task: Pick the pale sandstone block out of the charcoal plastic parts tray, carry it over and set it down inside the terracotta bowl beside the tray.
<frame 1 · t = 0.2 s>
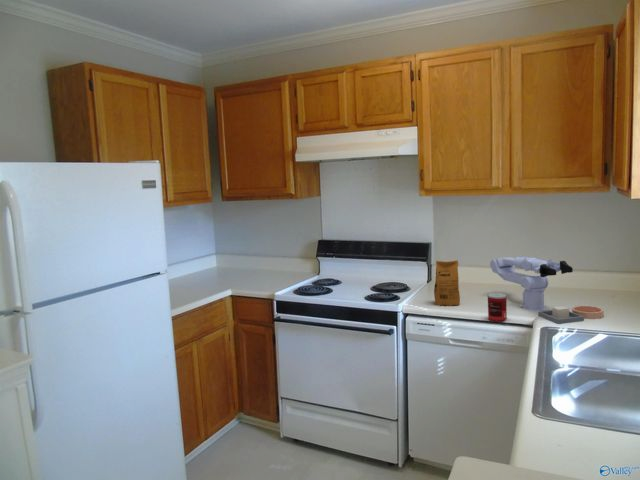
hand: (563, 271, 202), 21 cm above the countertop, tool horizontal, fingers open, 7 cm apart
bowl: (587, 316, 208), on the countertop
coffee package: (447, 304, 242), on the countertop
parts tray: (560, 319, 206), on the countertop
stone block: (560, 318, 205), point 1 cm above the countertop, touching parts tray
canned food: (497, 319, 211), on the countertop
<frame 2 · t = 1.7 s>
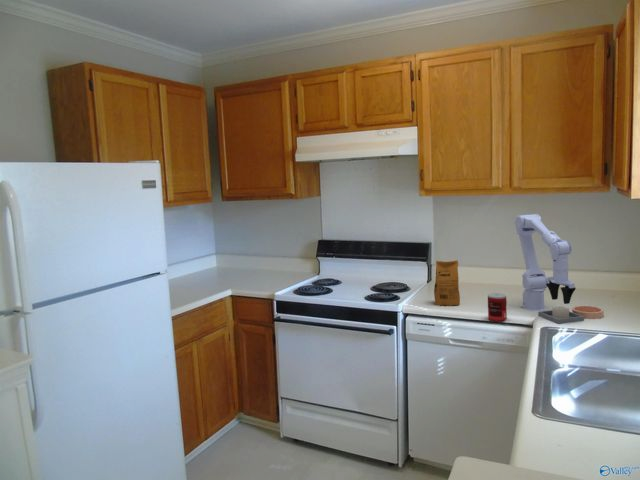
hand: (560, 301, 205), 8 cm above the countertop, tool pointing down, fingers open, 7 cm apart
nothing on the countertop moved.
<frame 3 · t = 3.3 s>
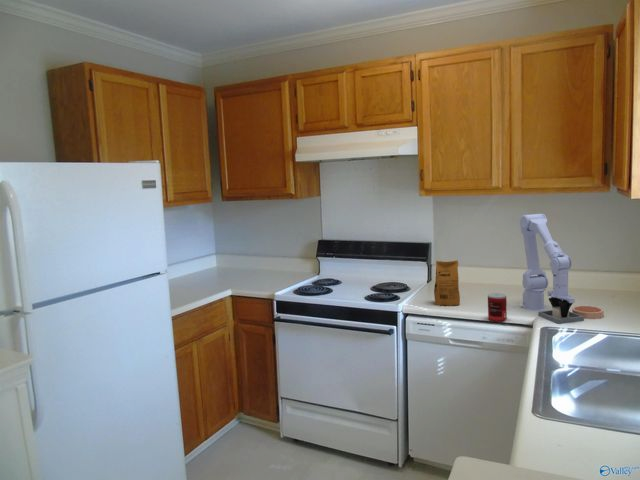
hand: (560, 315, 205), 2 cm above the countertop, tool pointing down, fingers closed on stone block, 4 cm apart
stone block: (560, 318, 205), point 1 cm above the countertop, touching gripper, parts tray
everything else where it was.
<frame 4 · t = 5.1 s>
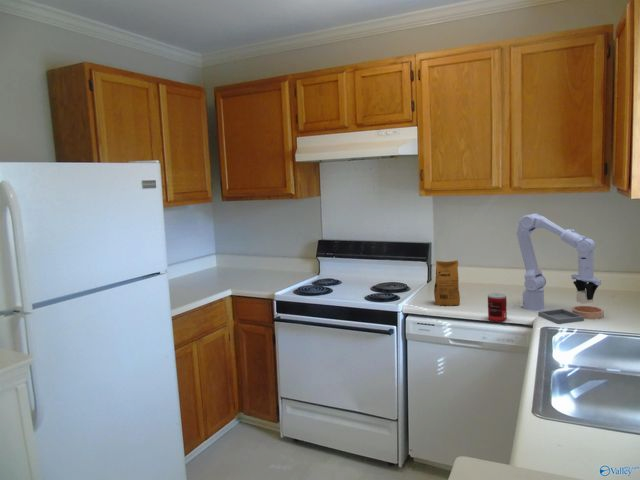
hand: (585, 298, 207), 8 cm above the countertop, tool pointing down, fingers closed on stone block, 4 cm apart
stone block: (584, 301, 207), point 7 cm above the countertop, touching gripper
everything else where it was.
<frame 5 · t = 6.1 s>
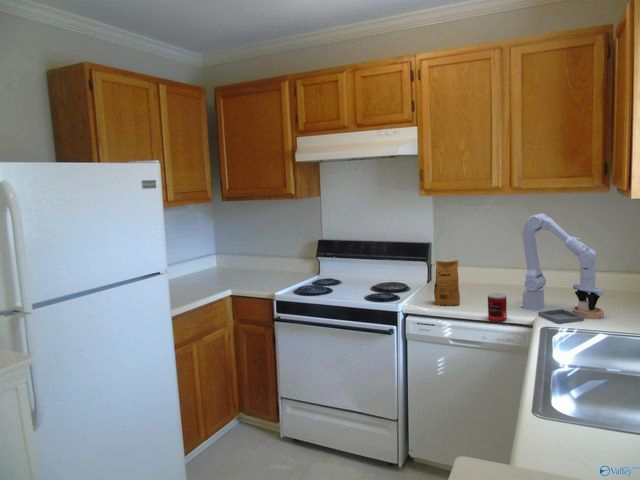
hand: (587, 308, 207), 3 cm above the countertop, tool pointing down, fingers closed on stone block, 4 cm apart
stone block: (586, 312, 207), point 2 cm above the countertop, touching gripper
everything else where it was.
when the fingers open (3 cm above the countertop, at t = 6.9 s): stone block drops 1 cm, resting on bowl.
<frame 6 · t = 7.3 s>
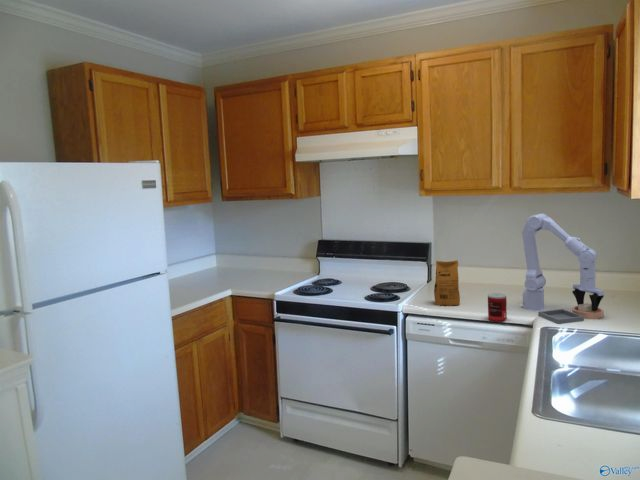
hand: (587, 308, 207), 3 cm above the countertop, tool pointing down, fingers open, 7 cm apart
stone block: (586, 315, 208), point 1 cm above the countertop, touching bowl
everything else where it was.
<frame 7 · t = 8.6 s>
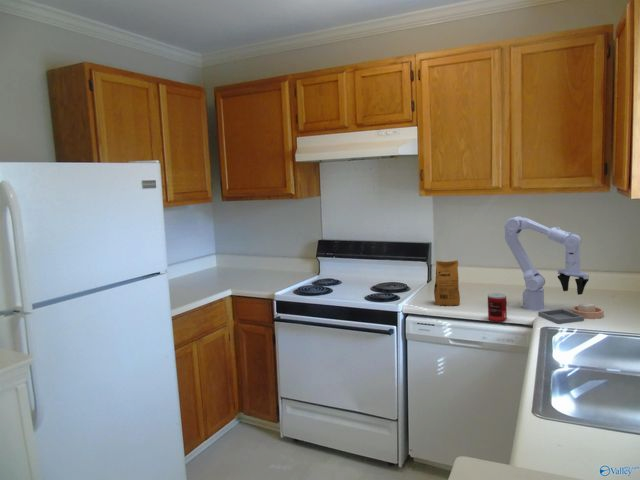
hand: (572, 292, 212), 9 cm above the countertop, tool pointing down, fingers open, 7 cm apart
nothing on the countertop moved.
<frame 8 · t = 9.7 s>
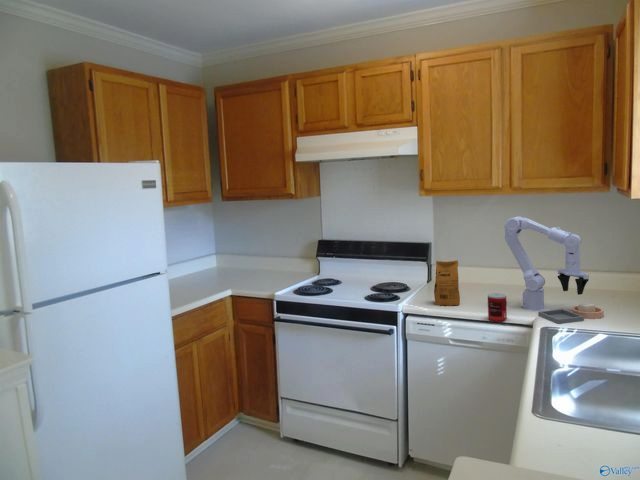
hand: (572, 292, 212), 9 cm above the countertop, tool pointing down, fingers open, 7 cm apart
nothing on the countertop moved.
at the end: stone block 0.4 cm off-centre on the bowl, point 0.6 cm above the bowl's base; the gripper is holding nothing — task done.
